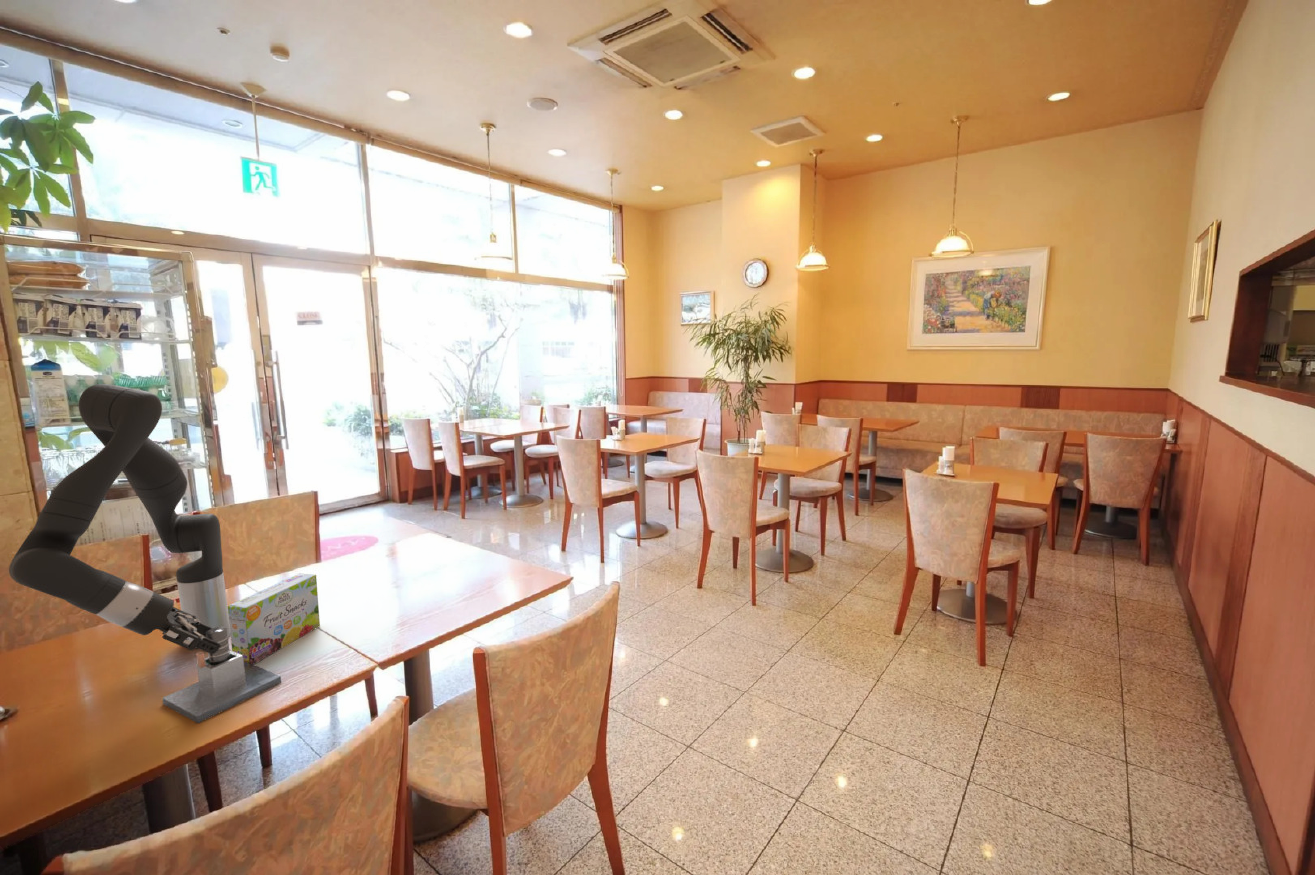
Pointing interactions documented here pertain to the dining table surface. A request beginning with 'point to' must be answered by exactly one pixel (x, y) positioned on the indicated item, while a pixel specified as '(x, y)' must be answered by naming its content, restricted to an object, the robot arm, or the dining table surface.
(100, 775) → the dining table surface
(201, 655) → the grey square socket base
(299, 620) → the snack box
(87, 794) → the dining table surface
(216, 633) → the grey round-topped cylinder
